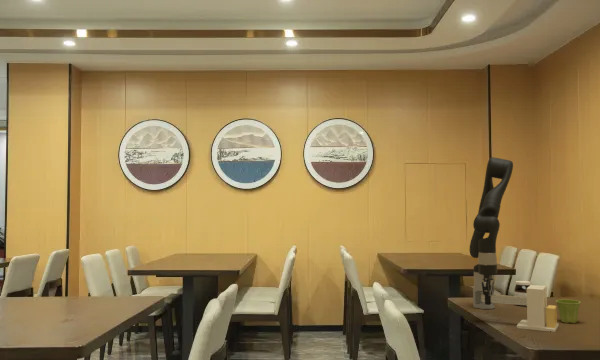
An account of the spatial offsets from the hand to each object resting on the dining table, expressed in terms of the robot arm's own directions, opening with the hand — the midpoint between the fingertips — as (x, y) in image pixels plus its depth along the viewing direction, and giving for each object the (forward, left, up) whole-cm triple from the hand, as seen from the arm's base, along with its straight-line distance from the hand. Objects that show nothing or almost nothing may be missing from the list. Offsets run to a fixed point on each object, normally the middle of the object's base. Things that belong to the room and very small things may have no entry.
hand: (488, 303), depth 226 cm
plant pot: (+29, +17, -8) cm, 35 cm away
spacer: (+24, 0, -3) cm, 24 cm away
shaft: (+7, 0, 0) cm, 7 cm away
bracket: (+19, 0, -8) cm, 21 cm away
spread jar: (+8, +49, -8) cm, 50 cm away
